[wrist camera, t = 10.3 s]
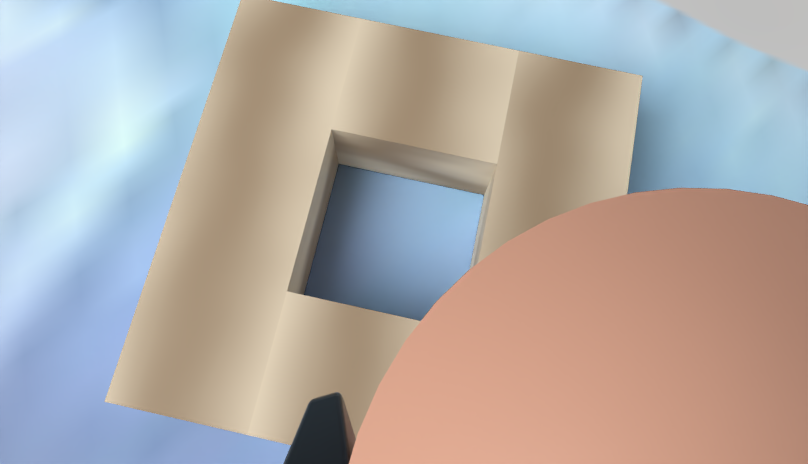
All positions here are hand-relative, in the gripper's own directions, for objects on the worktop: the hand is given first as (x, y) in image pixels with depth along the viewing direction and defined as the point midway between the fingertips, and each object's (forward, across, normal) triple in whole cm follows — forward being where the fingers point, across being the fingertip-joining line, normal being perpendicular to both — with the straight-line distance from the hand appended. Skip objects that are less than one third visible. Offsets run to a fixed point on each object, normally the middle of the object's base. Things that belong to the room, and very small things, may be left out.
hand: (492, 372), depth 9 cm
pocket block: (+13, 0, +6) cm, 14 cm away
